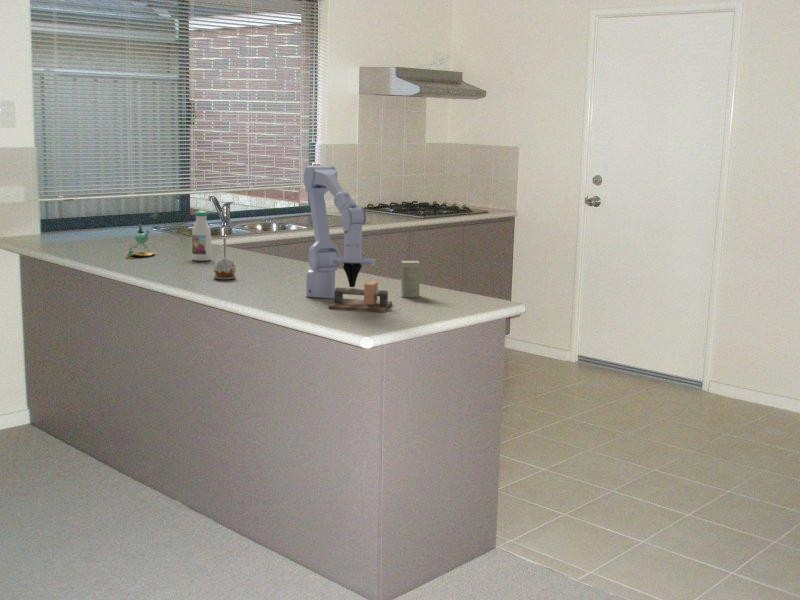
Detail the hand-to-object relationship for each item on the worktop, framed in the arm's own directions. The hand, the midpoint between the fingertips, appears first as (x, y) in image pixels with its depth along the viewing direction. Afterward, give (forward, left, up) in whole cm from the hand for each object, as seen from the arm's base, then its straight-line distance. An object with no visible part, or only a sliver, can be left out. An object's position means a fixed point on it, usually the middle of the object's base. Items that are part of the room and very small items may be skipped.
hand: (352, 286), depth 303 cm
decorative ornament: (-57, +34, -7) cm, 67 cm away
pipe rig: (+3, 0, -6) cm, 7 cm away
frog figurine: (-110, +73, -7) cm, 132 cm away
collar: (+6, 0, -5) cm, 8 cm away
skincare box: (+15, +22, -7) cm, 28 cm away
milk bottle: (-82, +72, -7) cm, 110 cm away
